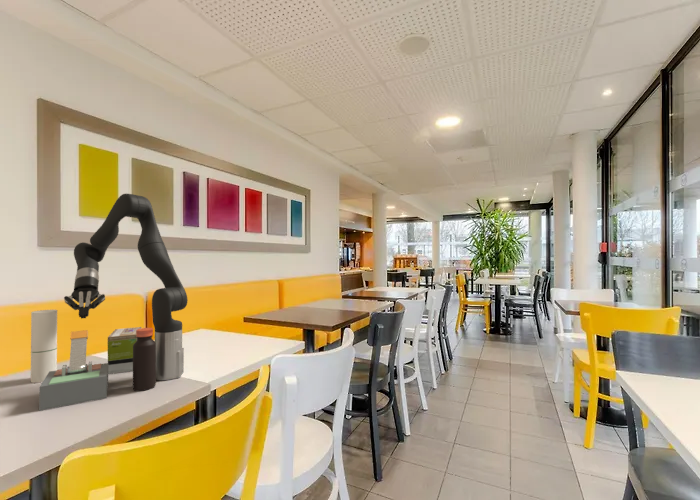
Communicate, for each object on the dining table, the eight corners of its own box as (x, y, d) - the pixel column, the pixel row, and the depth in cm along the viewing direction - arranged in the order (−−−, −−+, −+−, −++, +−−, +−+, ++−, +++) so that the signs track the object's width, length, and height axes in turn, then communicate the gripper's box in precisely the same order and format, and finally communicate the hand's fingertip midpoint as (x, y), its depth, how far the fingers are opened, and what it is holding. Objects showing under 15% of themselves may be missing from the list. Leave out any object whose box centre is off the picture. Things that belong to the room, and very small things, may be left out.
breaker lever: (87, 372, 113) (89, 332, 118) (86, 370, 111) (88, 329, 116) (67, 375, 110) (70, 334, 116) (66, 373, 108) (69, 331, 114)
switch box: (108, 382, 122) (108, 354, 122) (106, 398, 109) (106, 366, 109) (49, 392, 113) (49, 362, 113) (39, 410, 100) (39, 376, 100)
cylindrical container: (54, 374, 131) (54, 309, 131) (58, 378, 126) (59, 310, 126) (28, 379, 125) (29, 311, 125) (32, 384, 121) (33, 313, 121)
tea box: (114, 363, 144) (115, 328, 144) (142, 360, 148) (142, 326, 148) (106, 374, 130) (107, 336, 130) (137, 371, 134) (137, 333, 134)
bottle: (157, 387, 117) (158, 329, 117) (135, 393, 112) (135, 332, 113) (152, 382, 122) (153, 326, 122) (130, 387, 117) (131, 329, 118)
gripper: (64, 275, 130) (58, 312, 119) (107, 274, 137) (105, 309, 126) (66, 288, 134) (61, 325, 124) (107, 286, 141) (105, 321, 131)
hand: (83, 317), depth 125 cm, fingers closed
